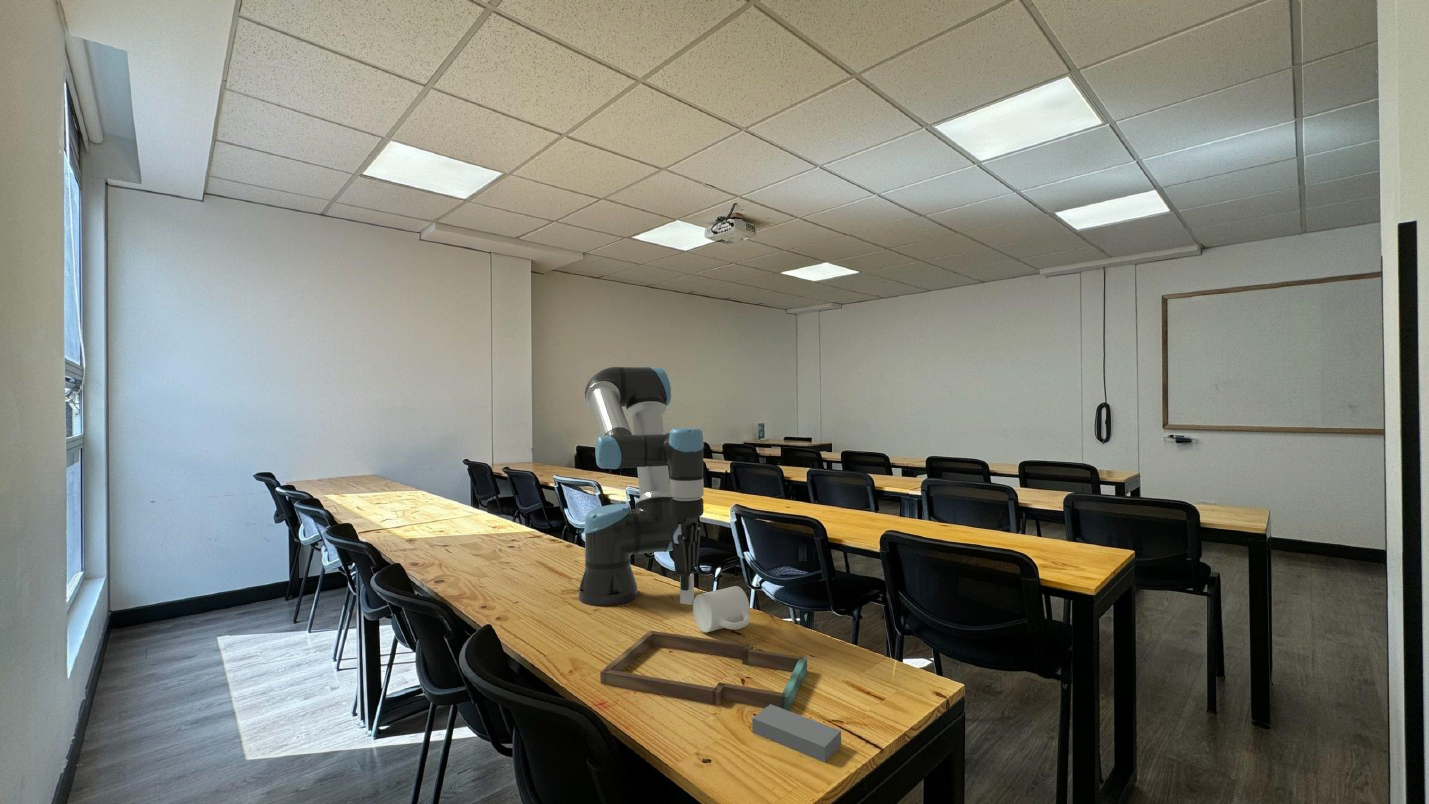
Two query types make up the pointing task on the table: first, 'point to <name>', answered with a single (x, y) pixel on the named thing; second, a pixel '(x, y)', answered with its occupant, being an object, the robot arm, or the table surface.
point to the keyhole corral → (704, 693)
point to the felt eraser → (797, 732)
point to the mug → (721, 609)
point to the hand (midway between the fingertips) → (687, 602)
